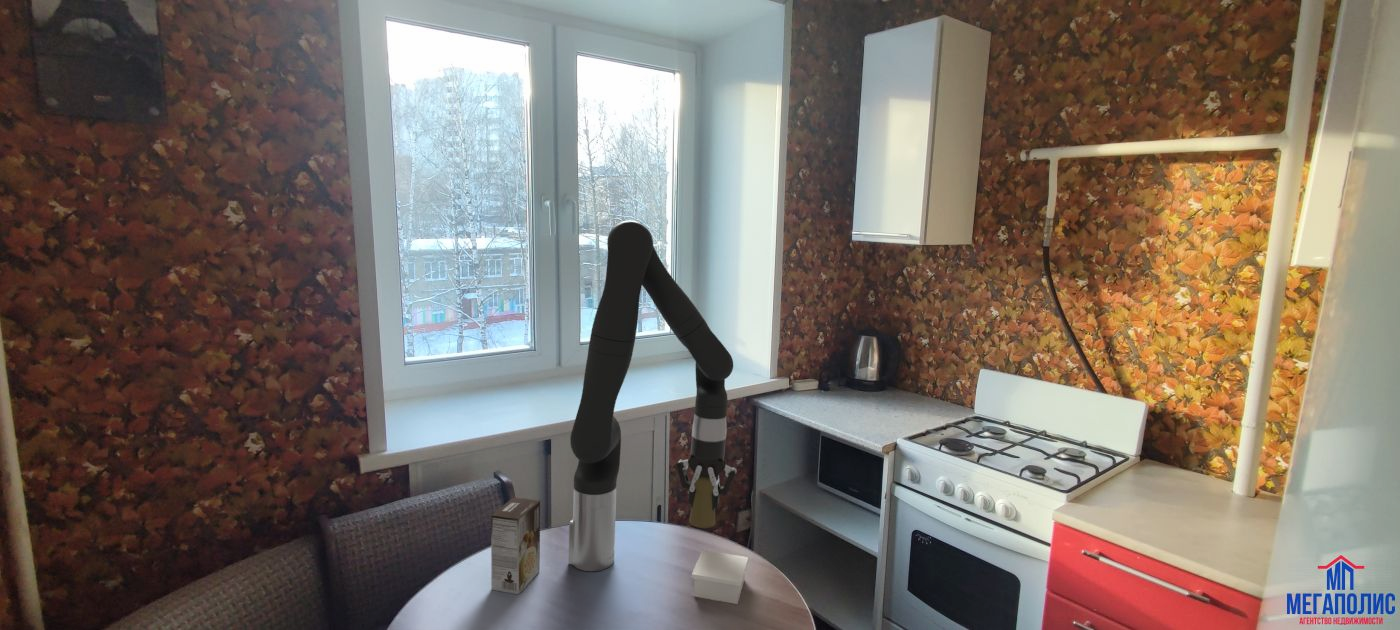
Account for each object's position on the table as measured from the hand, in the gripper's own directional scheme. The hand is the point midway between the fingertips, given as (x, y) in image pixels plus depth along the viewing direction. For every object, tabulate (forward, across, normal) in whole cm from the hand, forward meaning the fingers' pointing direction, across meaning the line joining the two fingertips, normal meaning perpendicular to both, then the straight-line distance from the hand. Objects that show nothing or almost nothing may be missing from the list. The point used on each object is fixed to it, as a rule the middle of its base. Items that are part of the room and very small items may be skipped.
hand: (703, 507), depth 137 cm
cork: (+4, 0, 0) cm, 4 cm away
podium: (+12, +7, -11) cm, 17 cm away
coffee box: (+13, -34, -20) cm, 42 cm away
